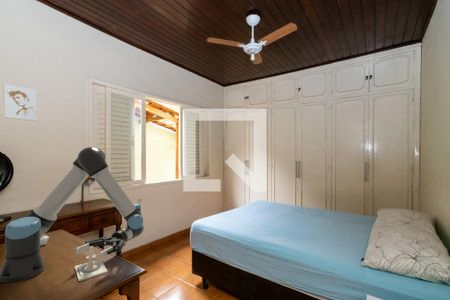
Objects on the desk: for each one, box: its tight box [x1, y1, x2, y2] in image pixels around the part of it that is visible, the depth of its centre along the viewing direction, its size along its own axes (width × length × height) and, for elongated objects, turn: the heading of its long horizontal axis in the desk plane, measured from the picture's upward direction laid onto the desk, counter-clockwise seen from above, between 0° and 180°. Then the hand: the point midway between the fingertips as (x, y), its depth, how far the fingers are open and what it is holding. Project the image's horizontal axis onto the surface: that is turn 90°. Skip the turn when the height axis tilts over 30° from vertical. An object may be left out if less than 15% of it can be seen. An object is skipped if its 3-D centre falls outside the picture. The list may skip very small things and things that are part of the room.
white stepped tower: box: [84, 246, 97, 271], centre depth 103 cm, size 5×5×10 cm
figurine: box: [40, 234, 50, 246], centre depth 130 cm, size 7×9×15 cm
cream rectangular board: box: [74, 258, 109, 282], centre depth 103 cm, size 14×11×1 cm
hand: (88, 253), depth 102 cm, fingers open, 13 cm apart
